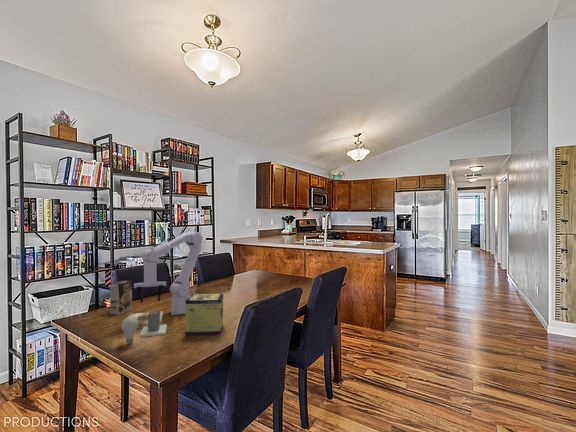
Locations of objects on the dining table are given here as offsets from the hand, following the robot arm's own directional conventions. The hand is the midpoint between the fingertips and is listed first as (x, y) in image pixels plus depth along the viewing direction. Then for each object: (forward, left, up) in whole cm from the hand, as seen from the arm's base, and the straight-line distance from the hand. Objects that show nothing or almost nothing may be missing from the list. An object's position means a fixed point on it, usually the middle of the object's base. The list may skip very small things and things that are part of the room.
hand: (150, 301), depth 152 cm
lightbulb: (+5, +27, -10) cm, 29 cm away
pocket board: (+3, +1, -10) cm, 10 cm away
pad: (-3, +16, -10) cm, 19 cm away
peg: (-3, +16, -9) cm, 18 cm away
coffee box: (+17, -19, -10) cm, 27 cm away
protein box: (-25, +21, -10) cm, 34 cm away
